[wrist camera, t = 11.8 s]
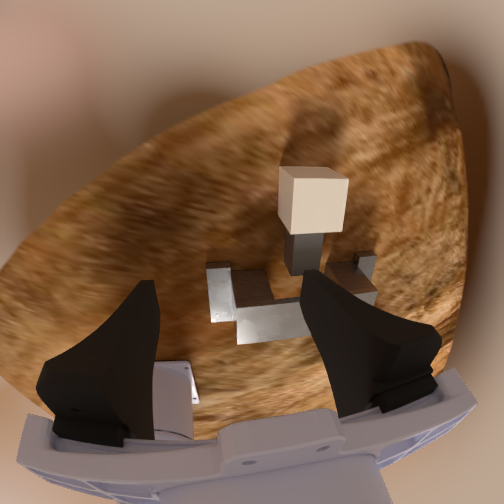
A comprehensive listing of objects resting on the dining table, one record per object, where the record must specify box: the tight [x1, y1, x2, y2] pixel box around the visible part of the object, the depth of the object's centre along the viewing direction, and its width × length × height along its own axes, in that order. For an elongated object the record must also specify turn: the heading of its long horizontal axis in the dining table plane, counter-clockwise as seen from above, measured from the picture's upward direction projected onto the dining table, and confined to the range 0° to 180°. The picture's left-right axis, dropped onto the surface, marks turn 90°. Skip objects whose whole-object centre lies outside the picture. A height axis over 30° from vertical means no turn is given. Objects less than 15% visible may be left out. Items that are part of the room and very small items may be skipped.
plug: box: [278, 166, 349, 276], centre depth 21 cm, size 8×4×4 cm, turn 179°
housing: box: [206, 251, 378, 345], centre depth 24 cm, size 6×16×5 cm, turn 89°
